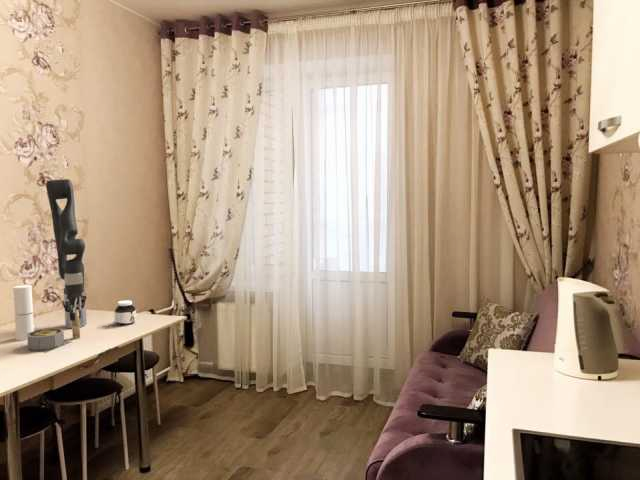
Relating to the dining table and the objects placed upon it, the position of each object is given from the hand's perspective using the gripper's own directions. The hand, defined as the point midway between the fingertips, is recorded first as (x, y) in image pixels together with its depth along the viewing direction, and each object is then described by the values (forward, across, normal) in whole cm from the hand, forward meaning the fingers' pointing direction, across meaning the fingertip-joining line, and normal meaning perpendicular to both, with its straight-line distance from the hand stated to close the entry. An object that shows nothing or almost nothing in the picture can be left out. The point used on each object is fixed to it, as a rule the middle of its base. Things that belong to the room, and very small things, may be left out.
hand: (75, 319), depth 229 cm
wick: (+10, 0, 0) cm, 10 cm away
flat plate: (+10, +13, -5) cm, 17 cm away
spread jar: (+10, -32, +4) cm, 34 cm away
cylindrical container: (+10, +5, -23) cm, 26 cm away
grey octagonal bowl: (+9, +13, -5) cm, 16 cm away
